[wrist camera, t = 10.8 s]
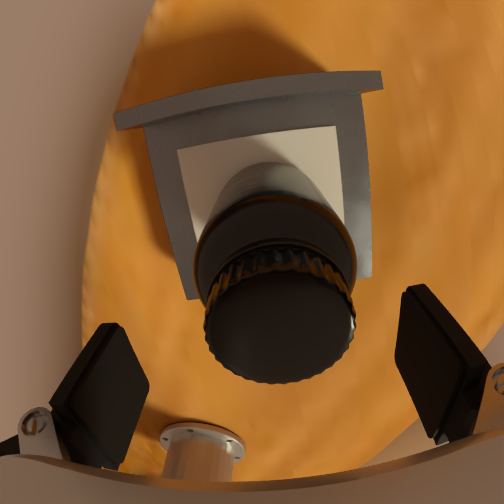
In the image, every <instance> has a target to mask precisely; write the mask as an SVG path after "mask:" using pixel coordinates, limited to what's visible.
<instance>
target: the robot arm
mask: <svg viewBox="0 0 504 504" xmlns="http://www.w3.org/2000/svg"><path fill="white" fill-rule="evenodd" d="M395 363H396V366H397V368H398V370H399V372H400V374H401V376H402V378H403V381H404V383H405V385H406V387H407V389H408V392H409V394H410V396H411V398H412V401H413V403H414V405H415V407H416V410H417V412H418V414H419V417H420V419H421V421H422V424H423V426H424V428H425V431H426V433H427V436H428V437H429V438H433V439H434V441H435V444H436V445H439V444H442V443H444V442H447V441H449V443H448V444H445V445H442V446H439V447H436V448H433V449H430V450H427V451H424V452H421V453H418V454H414V455H411V456H407V457H404V458H400V459H397V460H392V461H389V462H385V463H381V464H377V465H373V466H368V467H364V468H359V469H354V470H349V471H344V472H338V473H332V474H326V475H319V476H311V477H303V478H294V479H283V480H270V481H248V482H232V475H233V464H235V463H237V462H239V461H240V460H242V458H243V457H244V455H245V444H244V442H243V441H242V440H241V439H240V438H239V437H238V436H236V435H235V434H233V433H231V432H230V431H227V430H225V429H223V428H220V427H216V426H213V425H208V424H203V423H193V422H184V423H176V424H172V425H169V426H167V427H166V428H164V429H163V431H162V432H161V436H160V443H161V445H162V446H163V448H164V449H165V450H166V451H167V456H166V460H165V464H164V468H163V473H162V477H161V478H156V477H148V476H140V475H134V474H127V473H121V472H116V471H118V468H119V465H120V463H123V461H124V459H125V457H126V454H127V451H128V448H129V445H130V442H131V439H132V436H133V433H134V431H135V428H136V425H137V422H138V419H139V417H140V414H141V411H142V408H143V406H144V403H145V400H146V397H147V395H148V392H149V382H148V379H147V377H146V375H145V373H144V371H143V369H142V367H141V365H140V363H139V361H138V359H137V357H136V355H135V352H134V350H133V348H132V346H131V344H130V341H129V339H128V337H127V335H126V332H125V330H124V328H123V327H121V326H119V324H118V323H102V324H101V325H100V326H99V327H98V328H97V330H96V331H95V333H94V334H93V336H92V337H91V338H90V340H89V341H88V343H87V344H86V346H85V347H84V349H83V350H82V352H81V353H80V355H79V356H78V358H77V359H76V361H75V362H74V364H73V365H72V367H71V368H70V370H69V371H68V373H67V374H66V376H65V377H64V379H63V381H62V382H61V384H60V385H59V387H58V389H57V390H56V392H55V393H54V395H53V396H52V398H51V400H50V401H49V404H50V405H51V407H52V408H53V409H52V411H51V412H50V411H49V410H48V409H47V408H44V407H37V408H34V409H31V410H29V411H28V412H26V413H25V414H24V415H23V416H22V418H21V419H20V421H19V424H18V434H17V435H16V436H14V437H11V438H9V439H7V440H5V441H3V442H1V443H0V504H504V363H500V364H497V365H495V366H494V367H491V366H490V364H489V363H488V361H487V360H486V358H485V357H484V356H483V354H482V353H481V352H480V350H479V349H478V348H477V346H476V345H475V344H474V342H473V341H472V340H471V339H470V337H469V336H468V335H467V333H466V332H465V331H464V330H463V328H462V327H461V326H460V325H459V324H458V322H457V321H456V320H455V319H454V317H453V316H452V315H451V314H450V313H449V311H448V310H447V309H446V308H445V307H444V306H443V304H442V303H441V302H440V301H439V300H438V299H437V297H436V296H435V295H434V294H433V293H432V292H431V291H430V289H429V288H428V287H427V286H426V285H425V284H418V285H413V286H408V287H407V289H406V292H403V293H402V296H401V307H400V317H399V325H398V333H397V341H396V348H395ZM102 466H103V467H104V468H106V469H111V470H116V471H111V470H106V469H101V468H102Z"/></svg>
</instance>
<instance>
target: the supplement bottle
mask: <svg viewBox="0 0 504 504" xmlns="http://www.w3.org/2000/svg"><path fill="white" fill-rule="evenodd" d="M356 276H357V256H356V251H355V247H354V244H353V241H352V239H351V236H350V234H349V232H348V231H347V229H346V227H345V225H344V224H343V222H342V221H341V219H340V218H339V217H338V215H337V214H336V212H335V211H334V209H333V208H332V207H331V205H330V204H329V203H328V201H327V200H326V198H325V197H324V196H323V194H322V193H321V192H320V190H319V189H318V188H317V186H316V185H315V184H314V183H313V182H312V180H311V179H310V178H309V177H308V176H307V175H305V174H304V173H303V172H301V171H300V170H298V169H297V168H294V167H292V166H290V165H287V164H284V163H279V162H262V163H257V164H253V165H250V166H248V167H246V168H244V169H242V170H240V171H239V172H238V173H236V174H235V175H234V176H233V177H232V178H231V179H230V180H229V181H228V182H227V183H226V185H225V186H224V188H223V189H222V191H221V193H220V195H219V197H218V199H217V201H216V203H215V205H214V207H213V209H212V211H211V214H210V216H209V218H208V220H207V222H206V224H205V227H204V229H203V231H202V233H201V236H200V238H199V240H198V243H197V246H196V250H195V253H194V259H193V279H194V284H195V288H196V291H197V294H198V296H199V298H200V300H201V302H202V304H203V306H204V307H205V309H206V310H205V319H204V324H203V329H204V331H205V341H206V342H207V343H208V345H209V351H210V352H211V353H213V354H214V355H215V359H216V360H217V361H218V362H220V363H222V365H223V366H224V368H226V369H228V370H231V371H232V372H233V373H234V374H235V375H238V376H242V377H243V378H245V379H246V380H253V381H255V382H257V383H268V384H277V383H279V384H287V383H290V382H299V381H301V380H303V379H310V378H311V377H313V376H314V375H317V374H320V373H322V372H323V371H324V370H325V369H327V368H330V367H332V366H333V365H334V363H335V362H336V361H337V360H339V359H341V357H342V355H343V353H344V352H345V351H346V350H347V349H348V348H349V343H350V342H351V341H352V339H353V338H354V335H353V332H354V330H355V328H356V322H355V317H356V312H355V309H354V306H353V301H352V298H351V294H352V291H353V288H354V285H355V281H356Z"/></svg>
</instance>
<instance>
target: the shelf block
mask: <svg viewBox="0 0 504 504" xmlns="http://www.w3.org/2000/svg"><path fill="white" fill-rule="evenodd" d="M381 89H383V83H382V77H381V71H336V72H318V73H305V74H294V75H285V76H276V77H268V78H261V79H254V80H248V81H242V82H236V83H230V84H225V85H219V86H214V87H210V88H205V89H200V90H196V91H191V92H187V93H183V94H179V95H175V96H171V97H167V98H163V99H160V100H156V101H153V102H149V103H146V104H142V105H139V106H136V107H133V108H130V109H126V110H123V111H120V112H117V113H114V114H113V116H114V121H115V126H116V131H121V130H128V129H135V128H143V129H144V134H145V139H146V144H147V148H148V153H149V158H150V162H151V167H152V171H153V176H154V180H155V184H156V188H157V193H158V197H159V201H160V205H161V209H162V213H163V217H164V221H165V224H166V228H167V232H168V236H169V239H170V243H171V247H172V250H173V254H174V257H175V261H176V264H177V268H178V271H179V275H180V278H181V282H182V285H183V288H184V291H185V295H186V298H187V300H192V299H200V298H199V296H198V294H197V291H196V288H195V284H194V279H193V259H194V253H195V250H196V246H197V243H198V240H199V238H200V236H201V233H202V231H203V229H204V227H205V224H206V222H207V220H208V218H209V216H210V214H211V211H212V209H213V207H214V205H215V203H216V201H217V199H218V197H219V195H220V193H221V191H222V189H223V188H224V186H225V185H226V183H227V182H228V181H229V180H230V179H231V178H232V177H233V176H234V175H235V174H236V173H238V172H239V171H240V170H242V169H244V168H246V167H248V166H250V165H253V164H257V163H262V162H279V163H284V164H287V165H290V166H292V167H294V168H297V169H298V170H300V171H301V172H303V173H304V174H305V175H307V176H308V177H309V178H310V179H311V180H312V182H313V183H314V184H315V185H316V186H317V188H318V189H319V190H320V192H321V193H322V194H323V196H324V197H325V198H326V200H327V201H328V203H329V204H330V205H331V207H332V208H333V209H334V211H335V212H336V214H337V215H338V217H339V218H340V219H341V221H342V222H343V224H344V225H345V227H346V229H347V231H348V232H349V234H350V236H351V239H352V241H353V244H354V247H355V251H356V256H357V276H356V279H360V278H366V277H371V269H372V228H371V197H370V179H369V164H368V152H367V141H366V132H365V123H364V115H363V107H362V99H361V93H366V92H371V91H376V90H381Z"/></svg>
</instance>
